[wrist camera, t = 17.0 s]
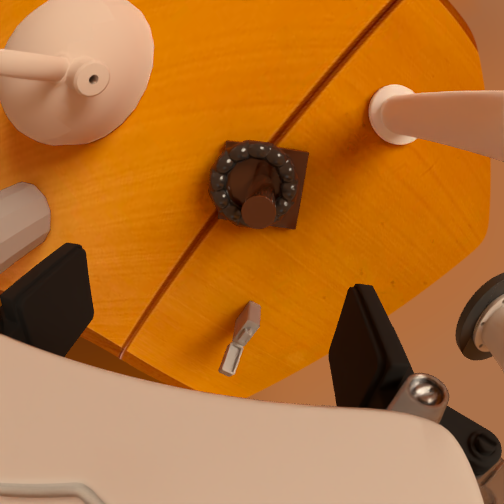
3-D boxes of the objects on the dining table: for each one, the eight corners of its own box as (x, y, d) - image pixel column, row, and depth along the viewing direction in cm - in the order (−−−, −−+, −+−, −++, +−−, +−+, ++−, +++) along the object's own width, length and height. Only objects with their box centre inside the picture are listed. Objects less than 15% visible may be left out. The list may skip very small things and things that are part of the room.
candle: (355, 110, 32) (502, 118, 9) (396, 73, 29) (561, 45, 7) (395, 156, 33) (551, 235, 11) (433, 119, 31) (603, 156, 8)
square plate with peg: (308, 151, 34) (323, 167, 24) (294, 227, 38) (303, 269, 28) (227, 140, 34) (208, 150, 24) (218, 216, 38) (199, 255, 28)
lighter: (250, 300, 42) (245, 338, 35) (261, 306, 42) (259, 345, 35) (225, 335, 45) (217, 374, 38) (235, 340, 45) (229, 380, 38)
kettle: (120, 167, 36) (24, 213, 19) (11, 122, 33) (-85, 145, 17) (186, 12, 28) (121, -55, 11) (58, -10, 25) (-31, -39, 9)
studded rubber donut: (304, 147, 33) (306, 149, 31) (290, 229, 37) (291, 236, 35) (215, 135, 33) (212, 136, 31) (207, 218, 37) (204, 224, 35)
